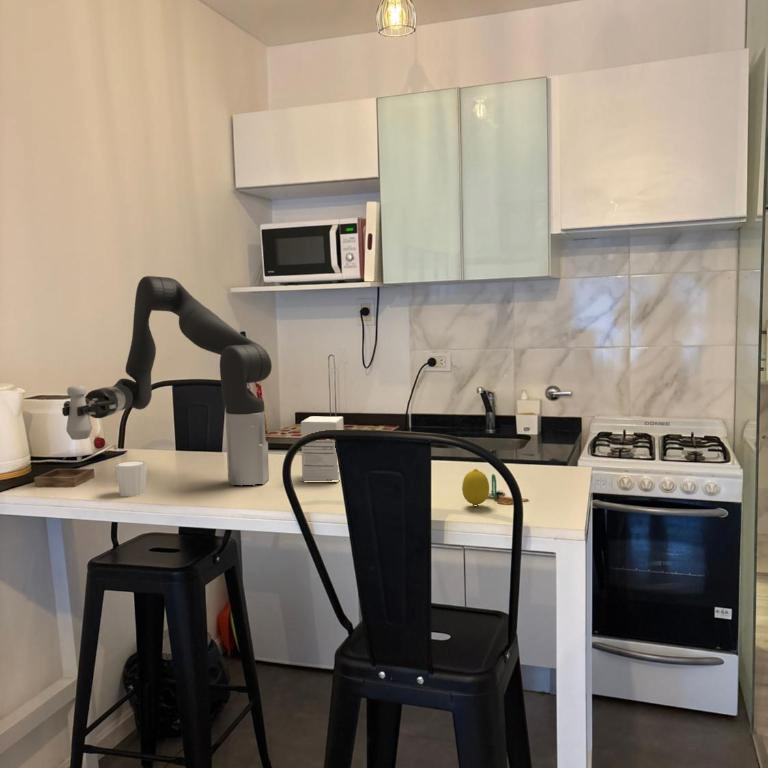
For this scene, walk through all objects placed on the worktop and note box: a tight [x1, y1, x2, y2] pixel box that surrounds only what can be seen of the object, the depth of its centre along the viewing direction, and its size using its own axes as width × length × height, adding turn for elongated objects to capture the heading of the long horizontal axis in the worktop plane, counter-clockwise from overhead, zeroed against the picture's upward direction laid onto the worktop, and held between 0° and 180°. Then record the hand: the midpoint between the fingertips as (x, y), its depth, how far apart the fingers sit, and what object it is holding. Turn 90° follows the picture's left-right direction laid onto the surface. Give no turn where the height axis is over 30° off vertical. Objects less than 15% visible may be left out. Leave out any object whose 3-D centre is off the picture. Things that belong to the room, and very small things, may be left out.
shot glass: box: [114, 460, 147, 497], centre depth 167 cm, size 7×7×7 cm
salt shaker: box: [65, 384, 93, 441], centre depth 179 cm, size 6×6×13 cm
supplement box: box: [300, 415, 344, 482], centre depth 178 cm, size 9×9×15 cm
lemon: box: [461, 468, 490, 506], centre depth 151 cm, size 6×6×8 cm
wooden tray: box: [33, 468, 95, 488], centre depth 180 cm, size 10×10×2 cm
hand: (71, 411), depth 176 cm, fingers closed on salt shaker, 3 cm apart
